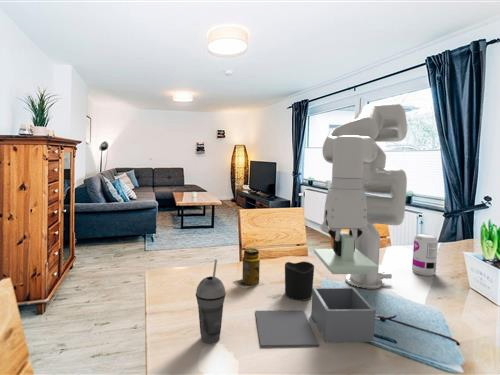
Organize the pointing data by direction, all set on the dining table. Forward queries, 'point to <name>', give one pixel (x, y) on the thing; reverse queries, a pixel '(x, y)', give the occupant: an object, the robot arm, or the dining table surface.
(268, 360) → the dining table surface
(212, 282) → the beverage cup
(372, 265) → the green slab
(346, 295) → the tub
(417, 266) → the supplement can
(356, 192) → the robot arm
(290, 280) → the pen holder
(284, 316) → the dark grey flat plate
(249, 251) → the condiment
